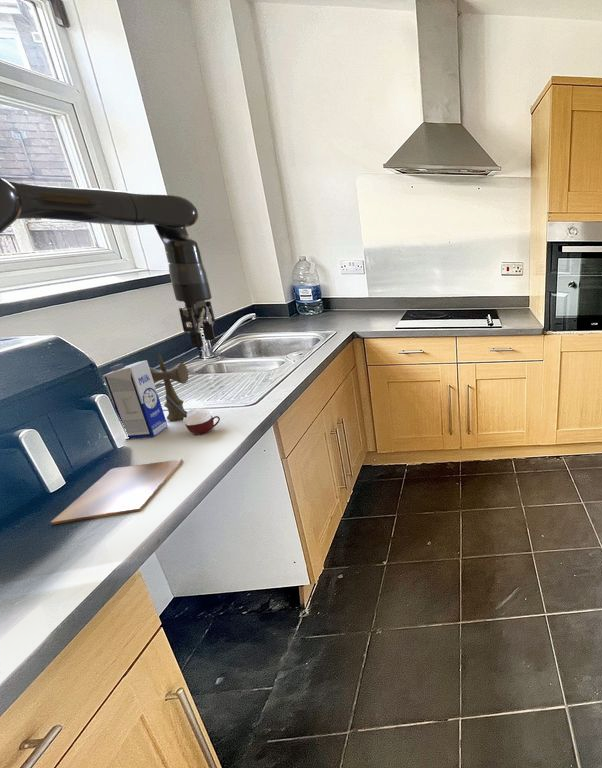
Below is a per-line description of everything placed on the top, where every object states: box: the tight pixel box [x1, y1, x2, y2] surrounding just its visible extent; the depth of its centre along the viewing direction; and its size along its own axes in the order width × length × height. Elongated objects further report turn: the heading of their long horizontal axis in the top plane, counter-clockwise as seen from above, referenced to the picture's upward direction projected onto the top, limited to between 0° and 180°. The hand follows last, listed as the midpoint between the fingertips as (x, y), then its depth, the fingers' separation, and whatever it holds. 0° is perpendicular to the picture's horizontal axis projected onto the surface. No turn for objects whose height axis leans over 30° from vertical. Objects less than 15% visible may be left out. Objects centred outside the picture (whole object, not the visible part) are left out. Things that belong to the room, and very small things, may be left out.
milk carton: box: [102, 359, 169, 440], centre depth 111 cm, size 7×7×20 cm
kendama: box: [149, 353, 189, 421], centre depth 120 cm, size 6×10×20 cm, turn 107°
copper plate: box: [50, 459, 184, 526], centre depth 89 cm, size 14×20×1 cm
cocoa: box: [164, 394, 221, 435], centre depth 113 cm, size 10×6×12 cm, turn 103°
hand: (204, 343), depth 111 cm, fingers open, 8 cm apart
